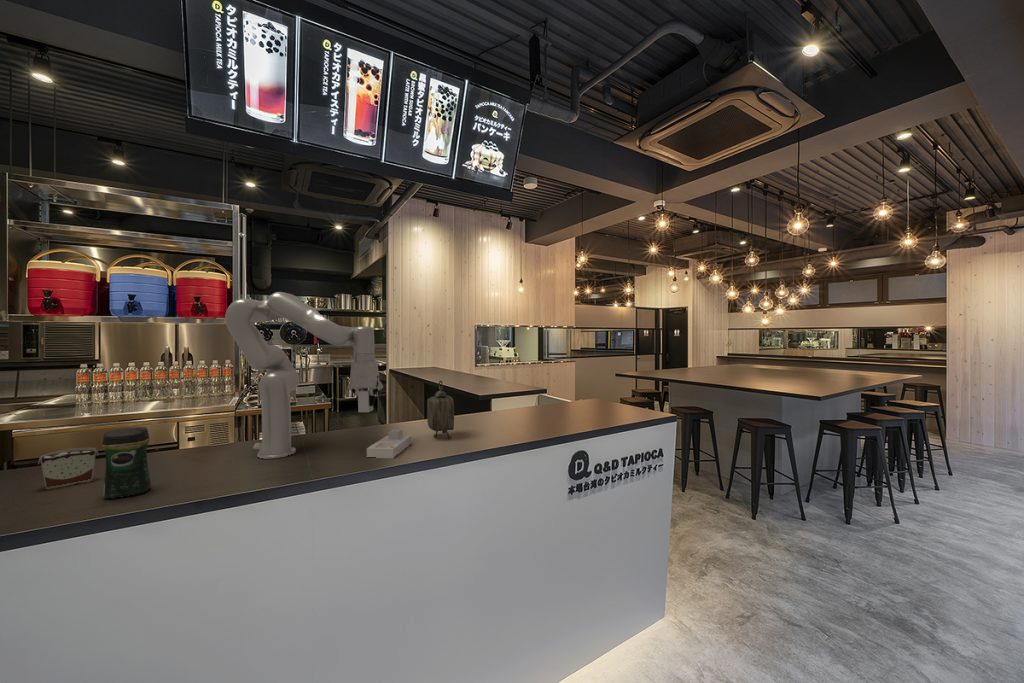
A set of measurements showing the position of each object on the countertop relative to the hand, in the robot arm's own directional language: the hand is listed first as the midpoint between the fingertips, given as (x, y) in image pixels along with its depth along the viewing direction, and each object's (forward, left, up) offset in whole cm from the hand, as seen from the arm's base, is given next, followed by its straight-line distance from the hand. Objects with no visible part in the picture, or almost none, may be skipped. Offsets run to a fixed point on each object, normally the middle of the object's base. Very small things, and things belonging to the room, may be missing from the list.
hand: (365, 405), depth 158 cm
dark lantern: (+23, +24, -18) cm, 38 cm away
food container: (-75, -40, -18) cm, 87 cm away
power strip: (+9, +2, -18) cm, 20 cm away
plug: (0, 0, -2) cm, 2 cm away
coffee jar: (-49, -46, -18) cm, 70 cm away
